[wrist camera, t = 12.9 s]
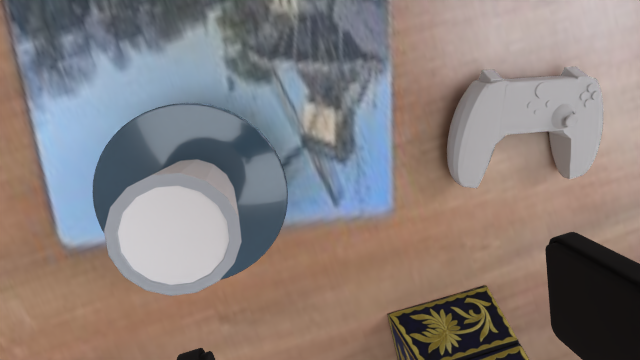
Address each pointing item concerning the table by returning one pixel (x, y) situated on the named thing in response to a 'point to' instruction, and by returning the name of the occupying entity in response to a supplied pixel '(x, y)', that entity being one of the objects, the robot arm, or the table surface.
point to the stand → (206, 145)
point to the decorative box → (455, 330)
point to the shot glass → (175, 229)
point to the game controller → (526, 121)
